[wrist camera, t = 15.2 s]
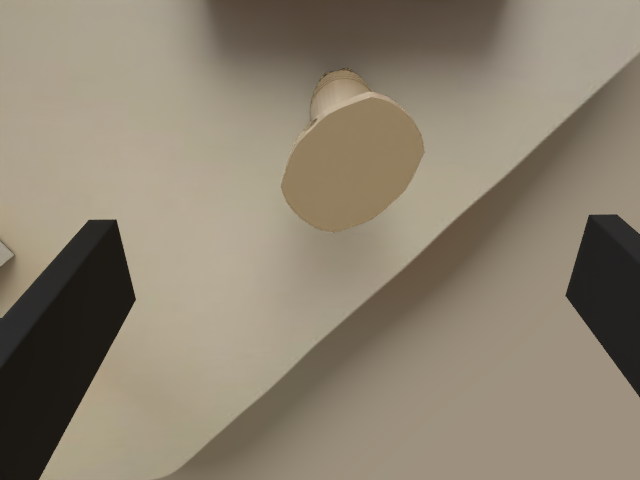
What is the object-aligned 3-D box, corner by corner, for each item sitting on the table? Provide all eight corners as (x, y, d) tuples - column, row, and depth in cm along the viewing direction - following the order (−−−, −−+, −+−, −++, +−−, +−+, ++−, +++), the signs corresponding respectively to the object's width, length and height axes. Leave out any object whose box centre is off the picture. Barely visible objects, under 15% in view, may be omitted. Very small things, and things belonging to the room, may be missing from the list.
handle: (283, 99, 34) (259, 183, 21) (348, 28, 32) (367, 72, 19) (332, 146, 36) (337, 250, 23) (397, 81, 34) (446, 155, 21)
